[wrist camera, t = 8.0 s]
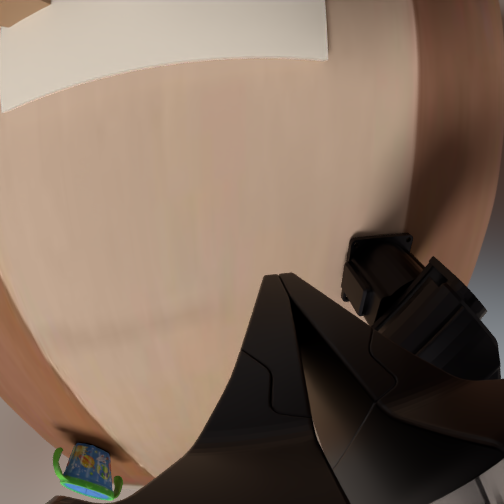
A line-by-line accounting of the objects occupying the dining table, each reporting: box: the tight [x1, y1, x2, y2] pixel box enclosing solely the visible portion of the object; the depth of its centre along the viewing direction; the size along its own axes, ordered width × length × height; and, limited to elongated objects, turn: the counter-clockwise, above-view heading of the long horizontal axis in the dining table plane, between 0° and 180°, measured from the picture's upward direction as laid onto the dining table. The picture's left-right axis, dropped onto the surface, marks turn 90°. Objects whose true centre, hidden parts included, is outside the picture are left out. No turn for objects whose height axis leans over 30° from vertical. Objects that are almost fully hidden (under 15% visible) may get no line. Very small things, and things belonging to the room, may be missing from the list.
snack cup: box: [53, 443, 123, 500], centre depth 36 cm, size 16×10×10 cm
